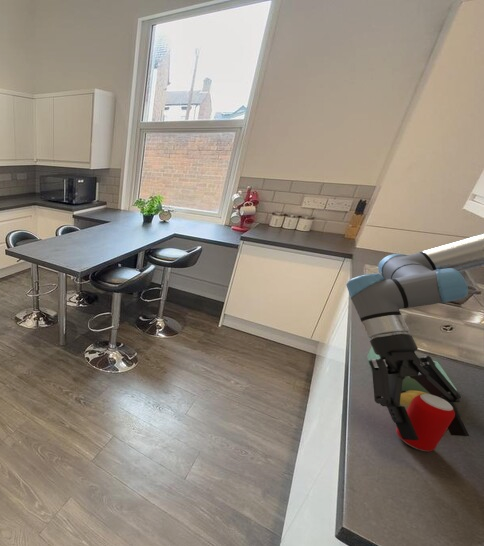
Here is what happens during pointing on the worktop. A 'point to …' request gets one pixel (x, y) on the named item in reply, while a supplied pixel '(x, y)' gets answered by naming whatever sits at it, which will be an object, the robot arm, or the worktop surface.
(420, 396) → the beverage can
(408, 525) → the worktop surface
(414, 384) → the bin
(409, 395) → the bread roll
